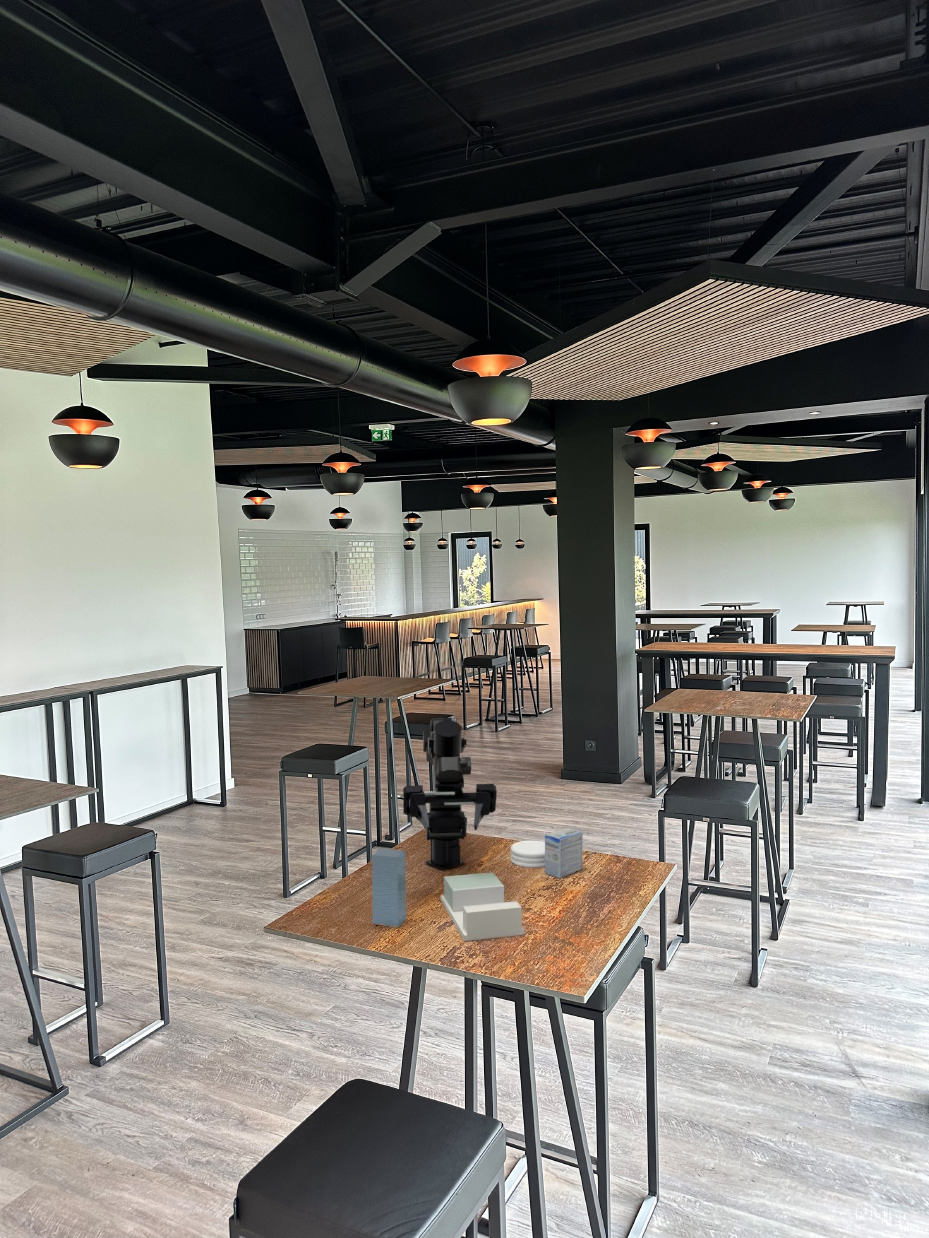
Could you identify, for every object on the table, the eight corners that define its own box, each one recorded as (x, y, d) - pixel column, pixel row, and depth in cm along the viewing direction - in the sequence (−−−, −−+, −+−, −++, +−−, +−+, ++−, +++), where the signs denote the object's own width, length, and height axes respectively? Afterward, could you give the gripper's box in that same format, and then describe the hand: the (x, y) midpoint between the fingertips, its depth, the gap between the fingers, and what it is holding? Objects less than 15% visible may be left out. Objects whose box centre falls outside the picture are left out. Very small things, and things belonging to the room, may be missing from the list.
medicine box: (567, 865, 183) (566, 827, 183) (583, 870, 180) (583, 831, 180) (544, 874, 178) (544, 834, 178) (560, 879, 175) (560, 838, 174)
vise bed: (440, 899, 163) (440, 875, 163) (493, 894, 166) (493, 870, 165) (464, 941, 143) (464, 912, 143) (524, 934, 146) (524, 906, 146)
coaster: (506, 866, 184) (506, 851, 183) (515, 853, 193) (515, 838, 193) (550, 870, 181) (550, 854, 181) (557, 856, 190) (557, 841, 190)
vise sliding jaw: (444, 896, 162) (443, 876, 162) (492, 891, 164) (492, 872, 164) (453, 911, 154) (453, 890, 154) (504, 906, 157) (504, 885, 156)
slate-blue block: (380, 916, 155) (380, 848, 154) (405, 919, 153) (405, 850, 153) (372, 925, 151) (372, 854, 150) (398, 927, 149) (397, 857, 149)
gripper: (402, 745, 167) (403, 799, 154) (493, 743, 169) (502, 796, 155) (403, 787, 173) (403, 842, 159) (491, 784, 174) (499, 839, 161)
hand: (452, 829), depth 158 cm, fingers open, 9 cm apart
